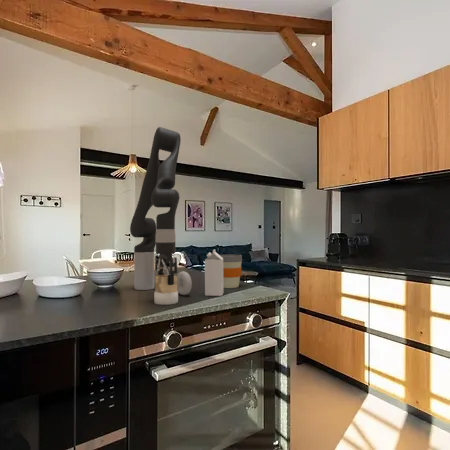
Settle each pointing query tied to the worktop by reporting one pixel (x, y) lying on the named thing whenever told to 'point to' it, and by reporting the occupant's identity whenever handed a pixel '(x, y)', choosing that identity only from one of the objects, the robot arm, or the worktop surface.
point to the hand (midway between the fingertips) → (165, 283)
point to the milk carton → (214, 275)
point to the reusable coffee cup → (231, 270)
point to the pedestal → (165, 298)
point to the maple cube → (165, 284)
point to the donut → (187, 285)
